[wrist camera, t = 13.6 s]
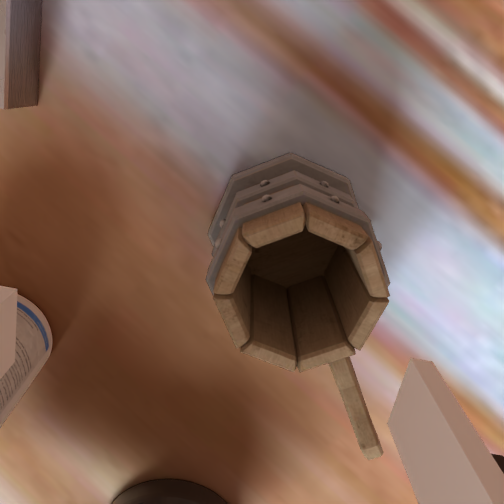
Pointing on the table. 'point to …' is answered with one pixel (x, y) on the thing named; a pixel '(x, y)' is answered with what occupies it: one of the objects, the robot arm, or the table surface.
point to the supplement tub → (25, 355)
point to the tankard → (299, 274)
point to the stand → (19, 52)
